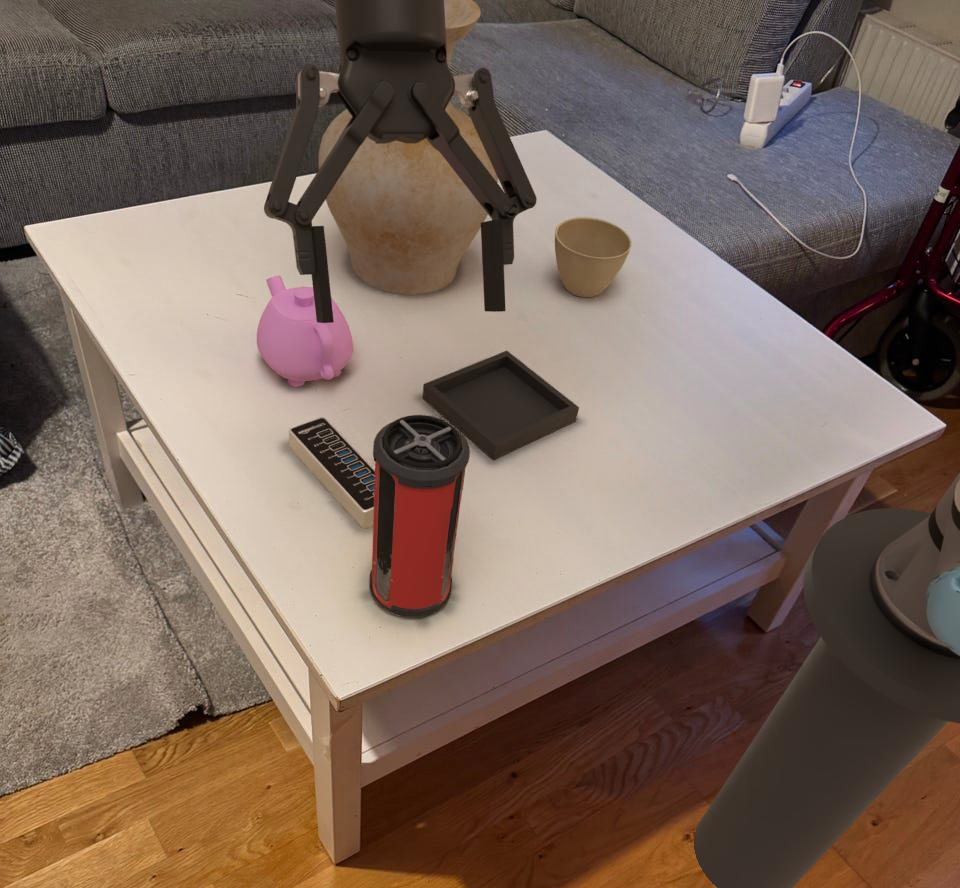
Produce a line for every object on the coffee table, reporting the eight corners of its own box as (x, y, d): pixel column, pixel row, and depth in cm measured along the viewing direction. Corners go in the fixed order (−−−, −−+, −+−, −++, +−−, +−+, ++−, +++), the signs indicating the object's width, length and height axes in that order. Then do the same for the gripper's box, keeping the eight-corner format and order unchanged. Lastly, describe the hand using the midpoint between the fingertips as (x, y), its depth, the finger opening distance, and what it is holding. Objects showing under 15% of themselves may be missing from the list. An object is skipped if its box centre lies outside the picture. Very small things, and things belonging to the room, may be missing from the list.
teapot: (288, 410, 100) (284, 335, 93) (234, 336, 107) (226, 261, 100) (373, 387, 104) (375, 314, 97) (315, 317, 112) (313, 244, 104)
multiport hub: (363, 529, 90) (363, 512, 88) (288, 446, 97) (287, 428, 95) (400, 513, 92) (401, 496, 90) (324, 432, 99) (323, 415, 97)
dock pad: (576, 421, 105) (579, 407, 103) (493, 460, 99) (495, 446, 97) (504, 364, 110) (507, 350, 109) (422, 398, 104) (423, 383, 103)
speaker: (352, 581, 86) (354, 428, 72) (417, 548, 90) (431, 396, 76) (402, 633, 83) (413, 484, 69) (467, 597, 86) (490, 448, 72)
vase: (372, 207, 130) (378, -47, 106) (511, 256, 126) (549, 4, 102) (288, 274, 117) (273, 2, 93) (440, 332, 113) (465, 63, 89)
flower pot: (534, 271, 124) (543, 220, 119) (598, 264, 127) (610, 214, 122) (564, 312, 119) (575, 260, 113) (631, 304, 122) (645, 253, 116)
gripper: (534, 10, 70) (541, 306, 77) (196, -4, 62) (242, 326, 70) (577, -20, 63) (580, 307, 71) (205, -40, 55) (254, 329, 63)
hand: (412, 317), depth 70 cm, fingers open, 13 cm apart
